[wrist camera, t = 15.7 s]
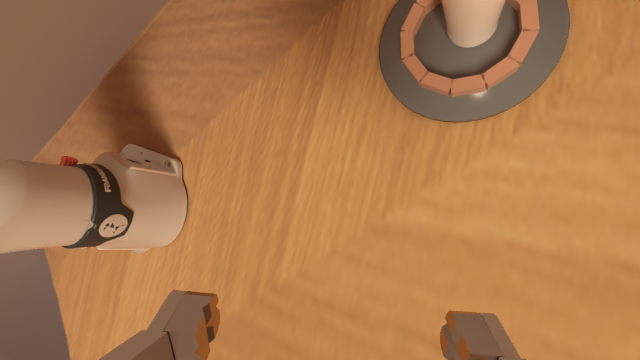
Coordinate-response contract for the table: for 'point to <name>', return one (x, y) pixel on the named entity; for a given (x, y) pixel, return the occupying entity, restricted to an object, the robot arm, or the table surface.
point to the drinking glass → (471, 20)
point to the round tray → (470, 58)
